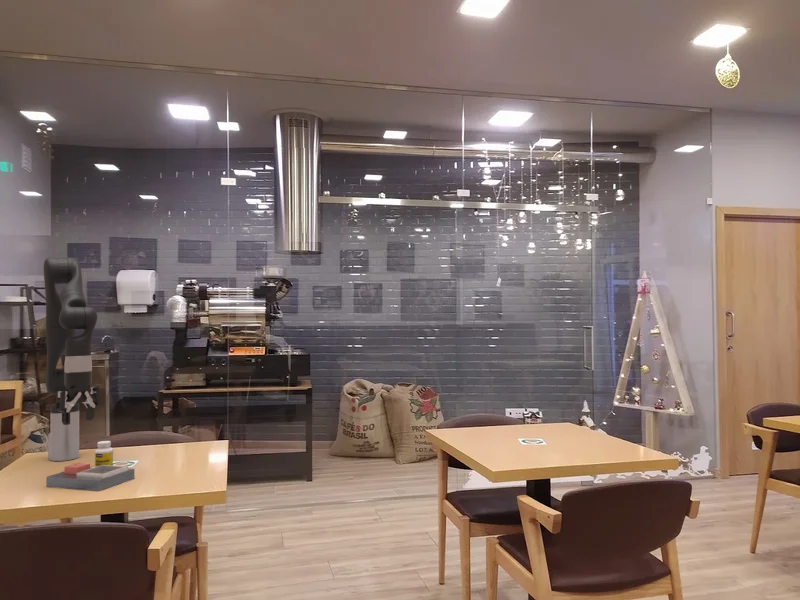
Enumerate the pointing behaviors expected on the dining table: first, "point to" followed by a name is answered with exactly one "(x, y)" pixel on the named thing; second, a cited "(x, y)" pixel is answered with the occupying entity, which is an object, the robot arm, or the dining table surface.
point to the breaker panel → (92, 478)
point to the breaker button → (76, 468)
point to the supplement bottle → (104, 454)
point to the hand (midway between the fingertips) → (78, 422)
